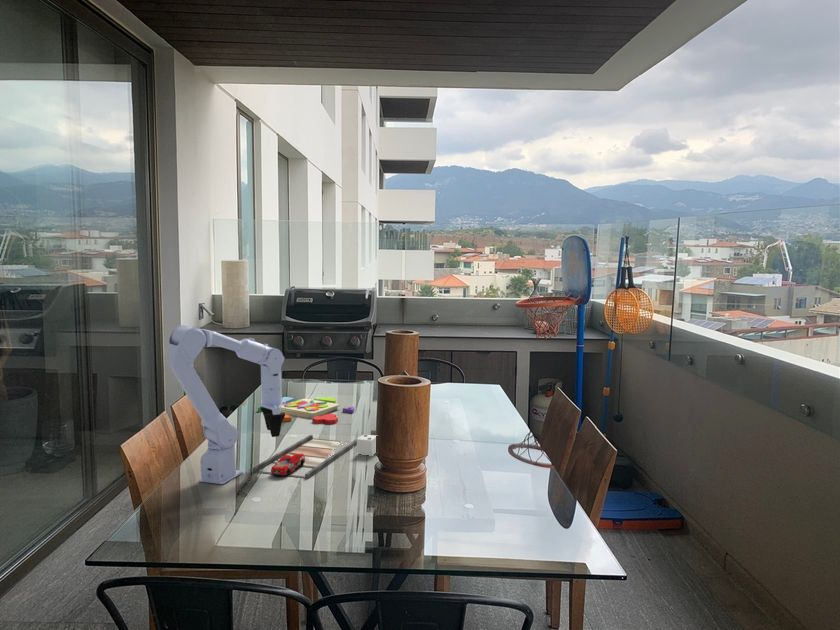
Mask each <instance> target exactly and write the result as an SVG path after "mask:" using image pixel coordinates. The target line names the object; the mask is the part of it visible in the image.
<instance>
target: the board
mask: <svg viewBox="0 0 840 630" xmlns="http://www.w3.org/2000/svg"><path fill="white" fill-rule="evenodd" d="M357 439H358V438H355V439H354V440H353V441H350V442H351V443H350V444H348V445H347V446H345V447H344V448H342V449H341V450H340V451H338V452H337V453H335V454H334V455H332V456H331V455H330V454H331V453H332V449H333V448H334V447H336V448H337V447H338V445H339V444H340V443H339V442H340V441H341V440H333V439H326V438H325V439H324V438H314V436H313V434H309V435H307V436H306V437H304V438H301V439H300V440H299V441H297V442H295V443H293V444H292V445H290V446H288V447H286V448H285V449H283V450H281V451H279V452H278V453H276V454H274V455H272V456H271V457H269V458H268V459H266V460H264V461H262V462H260V463H259V464H257V465H255V466H254V467H252V473H256V474H257V473H260V474H265V475H266V474H267V475H273V474H272V473H271V471H270V472H269V471H262V469H264V468H265V467H268V466H269V465H271V464H274V463H275V464H276V463H277V462H278V461H277V459H278V460H280V458H282V456H284V455H286V454H288V453H302V454H304V456H305V463H304V464H303V466H300V467H302V468H311V469H310V470H308V471H307V472H306V473H304V476H303V475H295V474H289V475H288V476H287V475H281V476H282V477H283V476H284V477H293V478H299V479H300V478H301V479H307V480H308V479H310V478H311V477H313V476H314V475H316V474H318V473H319V472H320V471H321V470H323V469H324V468H326V467H328V465H330V464H331V463H333V462H334V461H336V460H337V459H339V458H340V457H342V456H343V455H344V454H346V453H347V452H348V451H350V450H351V449H353V448H354V447H356V446H357V445H356V444H357ZM344 441H345V440H344ZM345 442H347V441H345ZM337 443H338V444H337ZM341 443H342V442H341ZM332 444H334V445H333V446H332ZM346 444H347V443H346ZM342 445H343V444H342ZM355 445H356V446H355ZM353 446H354V447H353ZM352 447H353V448H352ZM336 448H335V449H336ZM350 448H351V449H350ZM335 449H334V450H335ZM337 449H338V448H337ZM349 449H350V450H349ZM334 450H333V451H334ZM346 451H347V452H346ZM330 452H331V453H330ZM345 452H346V453H345ZM343 453H344V454H343ZM328 454H329V455H330V456H331V457H329V458H328V459H326V458H327V457H328ZM342 454H343V455H342ZM326 456H327V457H326ZM339 456H340V457H339ZM325 457H326V458H325ZM336 458H337V459H336ZM325 459H326V460H325ZM335 459H336V460H335ZM333 460H334V461H333ZM332 461H333V462H332ZM329 463H330V464H329ZM275 464H274V465H275ZM325 466H326V467H325Z"/></svg>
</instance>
